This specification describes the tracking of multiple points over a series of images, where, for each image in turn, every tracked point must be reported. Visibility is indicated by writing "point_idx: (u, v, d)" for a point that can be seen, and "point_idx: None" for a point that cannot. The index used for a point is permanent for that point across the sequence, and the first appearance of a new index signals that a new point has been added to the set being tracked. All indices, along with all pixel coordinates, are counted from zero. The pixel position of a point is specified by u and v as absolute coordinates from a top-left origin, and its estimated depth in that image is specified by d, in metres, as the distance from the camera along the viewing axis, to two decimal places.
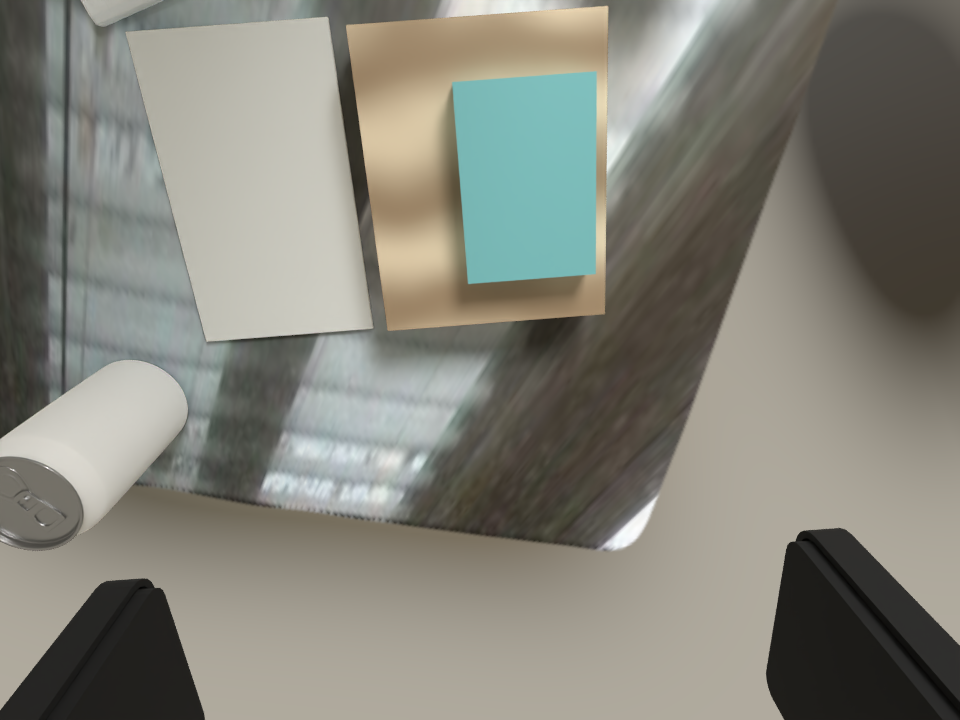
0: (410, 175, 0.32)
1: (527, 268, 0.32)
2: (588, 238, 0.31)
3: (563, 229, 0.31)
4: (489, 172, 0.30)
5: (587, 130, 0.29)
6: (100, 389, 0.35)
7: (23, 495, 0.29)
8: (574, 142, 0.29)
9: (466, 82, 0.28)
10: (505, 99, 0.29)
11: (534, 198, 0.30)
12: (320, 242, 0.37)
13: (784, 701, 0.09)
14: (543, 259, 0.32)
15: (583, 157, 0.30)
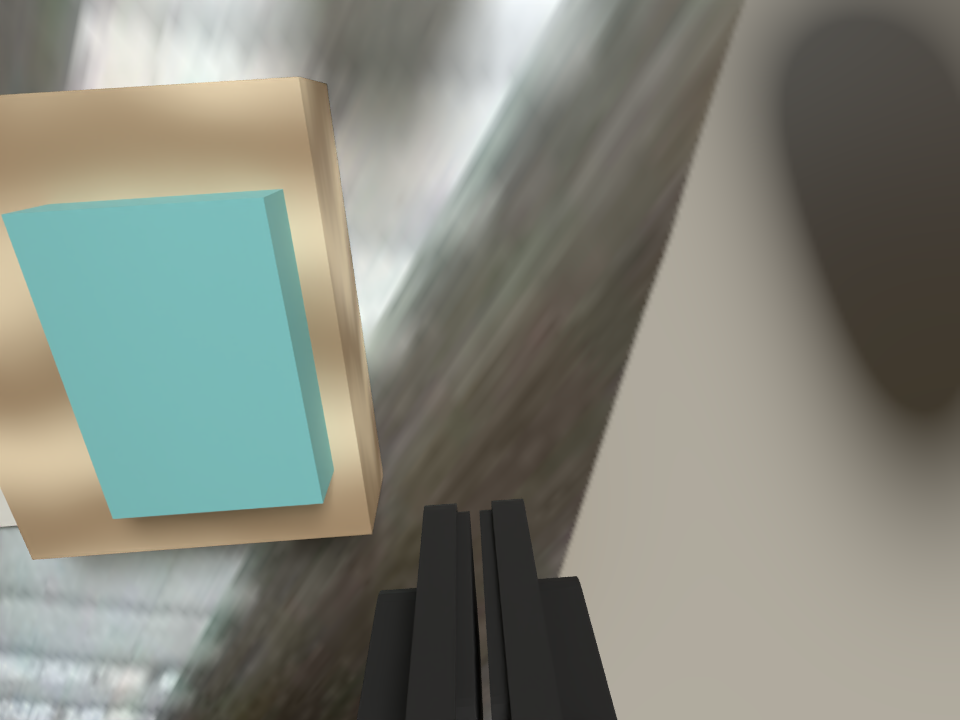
0: (12, 343, 0.19)
1: (206, 497, 0.19)
2: (300, 453, 0.19)
3: (255, 441, 0.19)
4: (107, 358, 0.17)
5: (266, 292, 0.17)
6: None
7: None
8: (246, 311, 0.17)
9: (28, 215, 0.16)
10: (107, 242, 0.16)
11: (196, 396, 0.18)
12: None
13: None
14: (231, 484, 0.19)
15: (267, 334, 0.17)
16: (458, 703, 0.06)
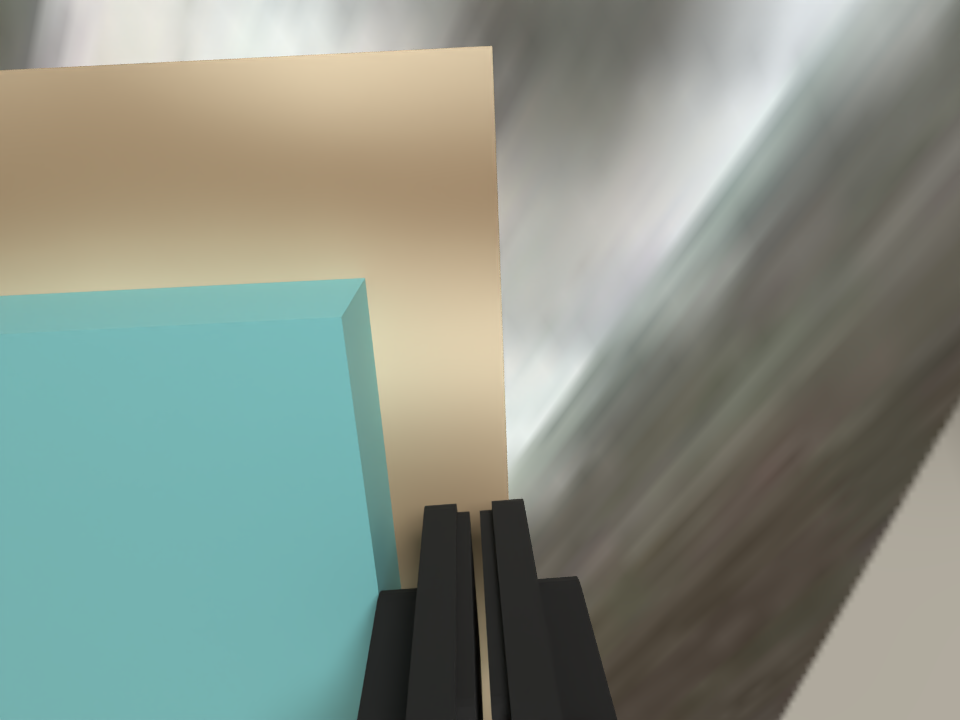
0: None
1: None
2: None
3: None
4: (7, 612, 0.09)
5: (333, 499, 0.08)
6: None
7: None
8: (291, 533, 0.08)
9: None
10: None
11: (185, 674, 0.09)
12: None
13: None
14: None
15: (331, 573, 0.09)
16: (458, 703, 0.06)
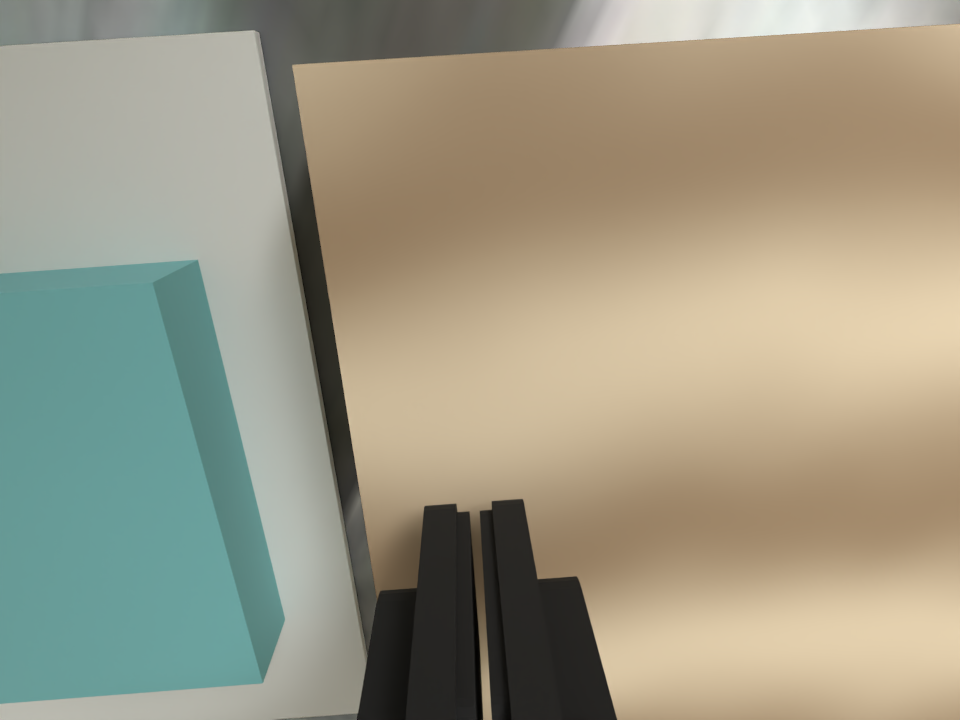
0: None
1: None
2: None
3: None
4: None
5: None
6: None
7: None
8: None
9: None
10: None
11: None
12: None
13: None
14: None
15: None
16: (458, 703, 0.06)
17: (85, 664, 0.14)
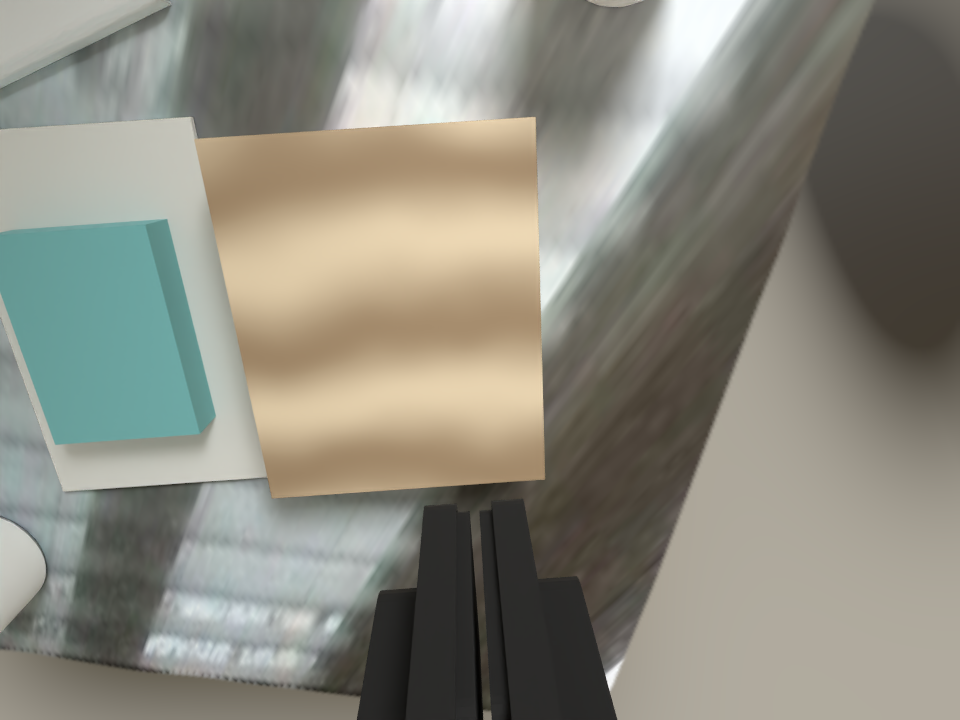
0: (290, 319, 0.25)
1: None
2: None
3: None
4: None
5: None
6: None
7: None
8: None
9: (152, 221, 0.27)
10: None
11: None
12: None
13: None
14: None
15: None
16: (459, 703, 0.06)
17: (111, 421, 0.28)
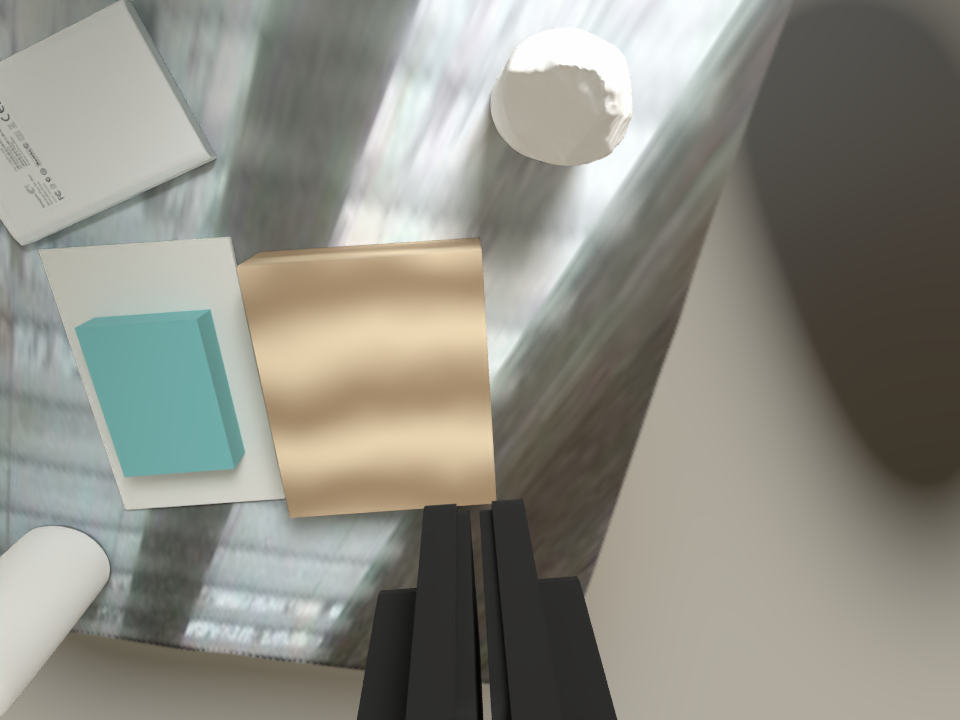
0: (304, 389, 0.34)
1: None
2: None
3: None
4: None
5: None
6: (15, 573, 0.36)
7: None
8: None
9: (199, 311, 0.36)
10: None
11: None
12: None
13: None
14: None
15: None
16: (458, 703, 0.06)
17: (167, 459, 0.37)
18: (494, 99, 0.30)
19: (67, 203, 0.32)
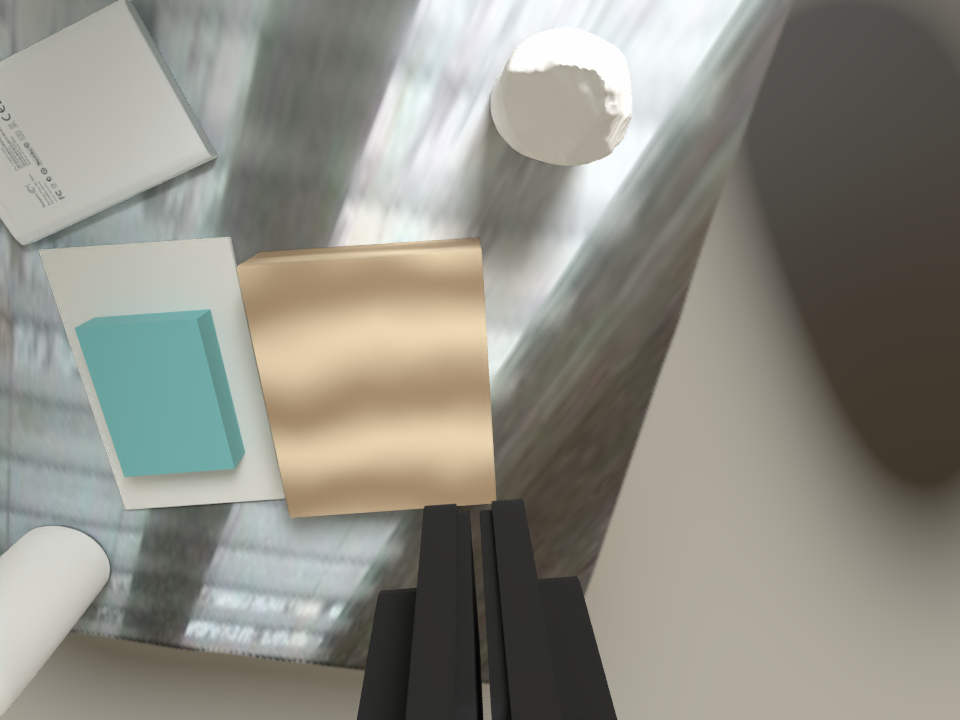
0: (304, 389, 0.34)
1: None
2: None
3: None
4: None
5: None
6: (15, 573, 0.36)
7: None
8: None
9: (199, 311, 0.36)
10: None
11: None
12: None
13: None
14: None
15: None
16: (458, 703, 0.06)
17: (167, 459, 0.37)
18: (494, 99, 0.30)
19: (68, 203, 0.32)
